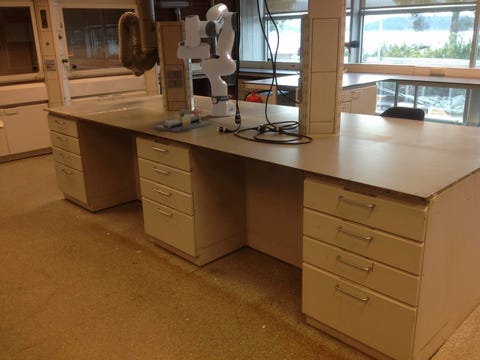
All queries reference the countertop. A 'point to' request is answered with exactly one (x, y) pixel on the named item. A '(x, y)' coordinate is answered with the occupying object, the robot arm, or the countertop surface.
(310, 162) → the countertop surface
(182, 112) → the lever
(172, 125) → the valve assembly
